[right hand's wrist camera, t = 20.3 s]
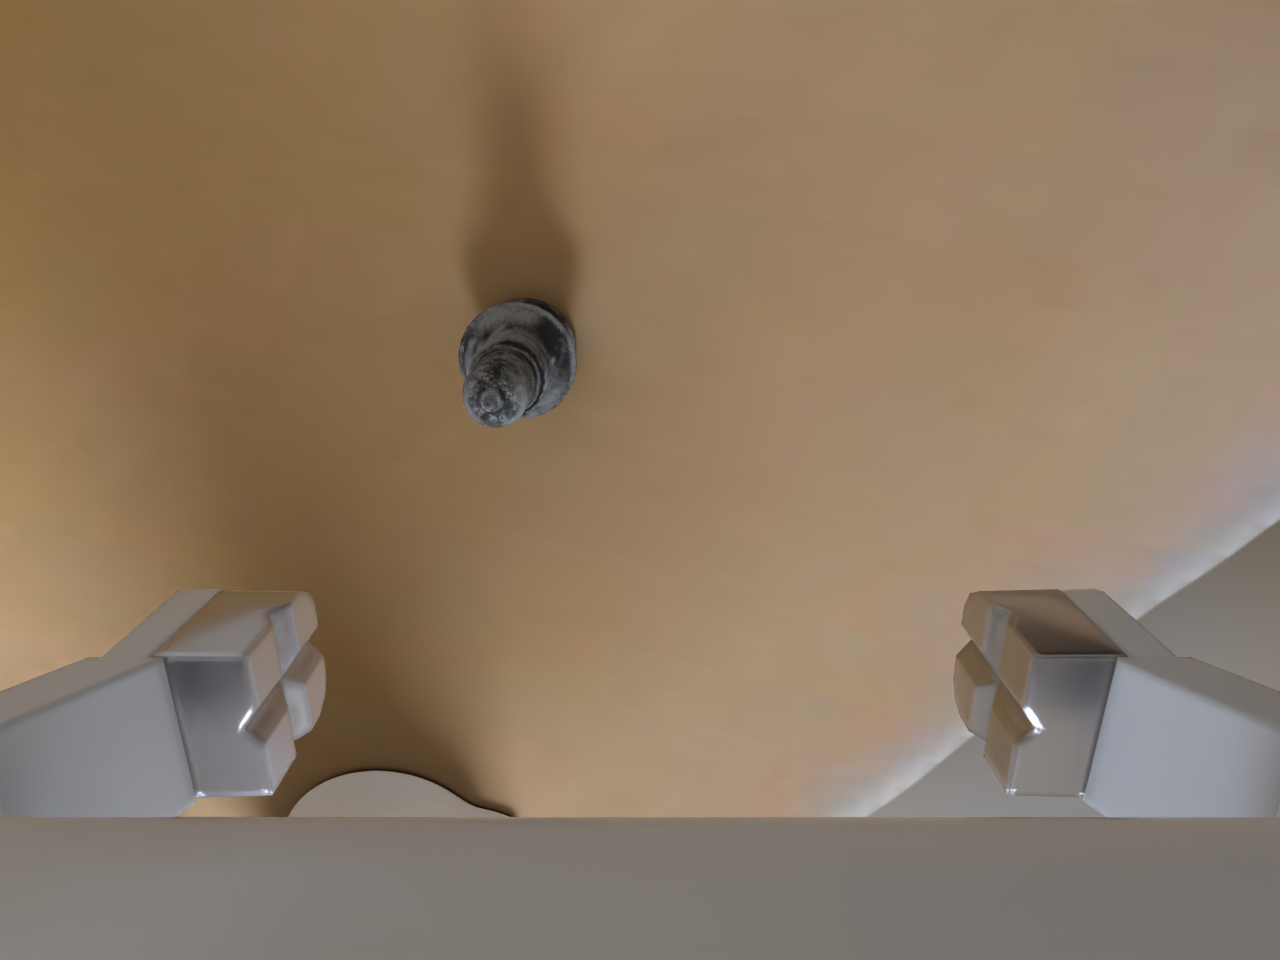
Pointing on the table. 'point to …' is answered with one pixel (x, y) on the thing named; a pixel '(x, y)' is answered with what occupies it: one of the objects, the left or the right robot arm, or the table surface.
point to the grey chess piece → (516, 362)
